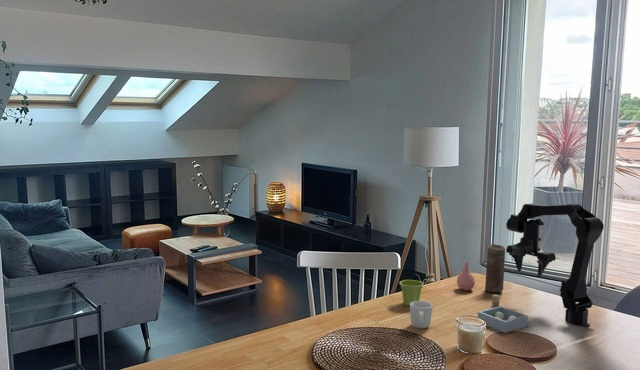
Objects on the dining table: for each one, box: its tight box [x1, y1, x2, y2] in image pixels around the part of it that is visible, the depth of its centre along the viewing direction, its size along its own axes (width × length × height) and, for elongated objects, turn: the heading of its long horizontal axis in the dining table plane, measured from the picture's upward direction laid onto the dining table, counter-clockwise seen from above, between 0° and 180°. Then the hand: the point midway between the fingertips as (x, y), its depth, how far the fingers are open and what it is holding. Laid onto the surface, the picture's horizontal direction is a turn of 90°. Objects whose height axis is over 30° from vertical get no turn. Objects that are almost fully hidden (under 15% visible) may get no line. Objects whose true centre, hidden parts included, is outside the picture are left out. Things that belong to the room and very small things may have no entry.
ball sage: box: [495, 312, 504, 320], centre depth 192 cm, size 3×3×3 cm
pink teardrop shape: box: [456, 262, 476, 291], centre depth 230 cm, size 8×8×12 cm
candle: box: [484, 243, 506, 293], centre depth 228 cm, size 8×7×20 cm
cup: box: [409, 300, 433, 329], centre depth 187 cm, size 11×8×8 cm
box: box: [477, 305, 529, 333], centre depth 188 cm, size 12×12×4 cm
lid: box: [491, 294, 500, 308], centre depth 207 cm, size 13×13×6 cm
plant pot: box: [399, 279, 424, 307], centre depth 212 cm, size 9×9×9 cm
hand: (529, 274), depth 209 cm, fingers open, 9 cm apart
